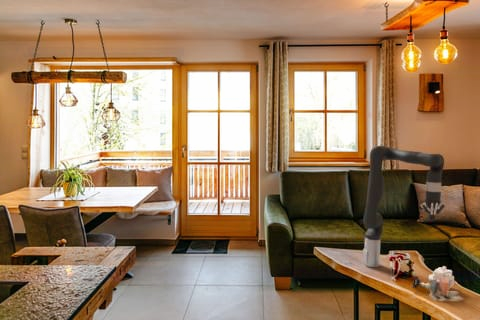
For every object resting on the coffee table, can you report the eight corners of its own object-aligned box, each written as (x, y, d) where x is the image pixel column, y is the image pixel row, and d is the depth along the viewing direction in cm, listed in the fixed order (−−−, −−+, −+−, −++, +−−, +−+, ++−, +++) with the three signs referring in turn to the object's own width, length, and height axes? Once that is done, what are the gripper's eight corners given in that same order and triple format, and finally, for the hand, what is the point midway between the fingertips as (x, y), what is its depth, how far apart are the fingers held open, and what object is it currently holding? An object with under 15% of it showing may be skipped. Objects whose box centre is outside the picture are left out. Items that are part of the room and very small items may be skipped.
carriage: (444, 297, 184) (445, 283, 184) (438, 292, 190) (439, 279, 189) (450, 297, 184) (451, 283, 184) (444, 292, 190) (445, 279, 189)
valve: (440, 293, 192) (416, 286, 201) (441, 281, 192) (417, 274, 200) (436, 297, 188) (412, 289, 196) (437, 284, 187) (412, 277, 196)
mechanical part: (438, 282, 206) (439, 261, 205) (457, 291, 195) (459, 269, 194) (423, 285, 202) (424, 264, 201) (442, 294, 191) (443, 272, 190)
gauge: (436, 301, 183) (437, 285, 182) (429, 295, 190) (429, 279, 189) (463, 301, 184) (464, 284, 183) (455, 295, 190) (456, 279, 189)
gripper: (425, 191, 197) (423, 222, 199) (449, 191, 198) (447, 222, 199) (417, 188, 205) (416, 219, 206) (441, 189, 205) (439, 219, 207)
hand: (431, 221), depth 203 cm, fingers closed
